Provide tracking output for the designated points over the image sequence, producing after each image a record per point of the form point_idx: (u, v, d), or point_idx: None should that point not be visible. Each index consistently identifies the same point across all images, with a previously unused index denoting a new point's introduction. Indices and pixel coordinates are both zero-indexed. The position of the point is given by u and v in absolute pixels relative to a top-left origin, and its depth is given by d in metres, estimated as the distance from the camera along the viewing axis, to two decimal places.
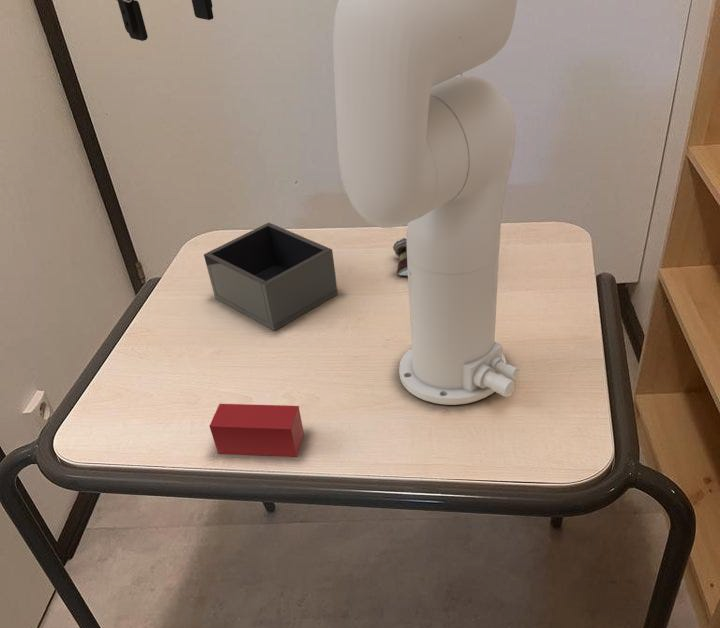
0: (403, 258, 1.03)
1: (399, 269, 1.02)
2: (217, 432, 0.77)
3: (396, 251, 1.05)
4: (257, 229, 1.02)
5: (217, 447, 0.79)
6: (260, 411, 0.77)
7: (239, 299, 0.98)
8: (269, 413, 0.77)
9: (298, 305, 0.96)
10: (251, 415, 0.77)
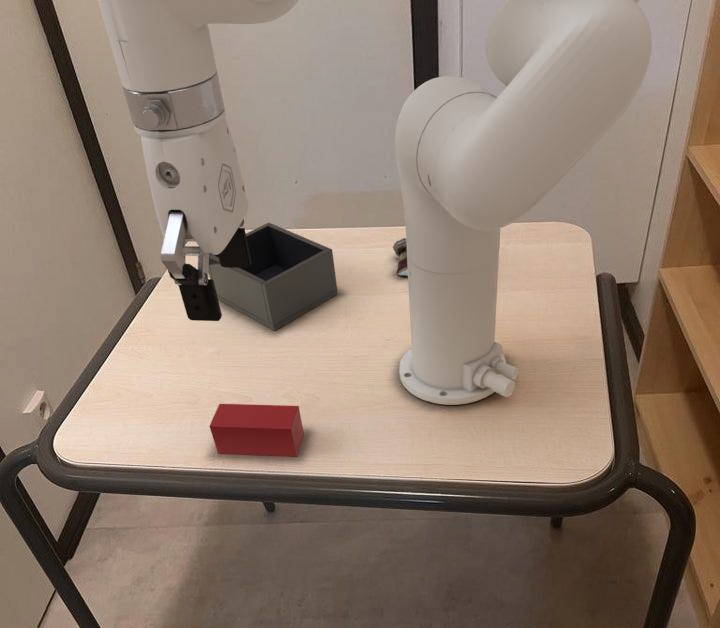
0: (403, 258, 1.03)
1: (399, 269, 1.02)
2: (217, 432, 0.77)
3: (396, 251, 1.05)
4: (257, 229, 1.02)
5: (217, 447, 0.79)
6: (260, 411, 0.77)
7: (239, 299, 0.98)
8: (269, 413, 0.77)
9: (298, 305, 0.96)
10: (251, 415, 0.77)
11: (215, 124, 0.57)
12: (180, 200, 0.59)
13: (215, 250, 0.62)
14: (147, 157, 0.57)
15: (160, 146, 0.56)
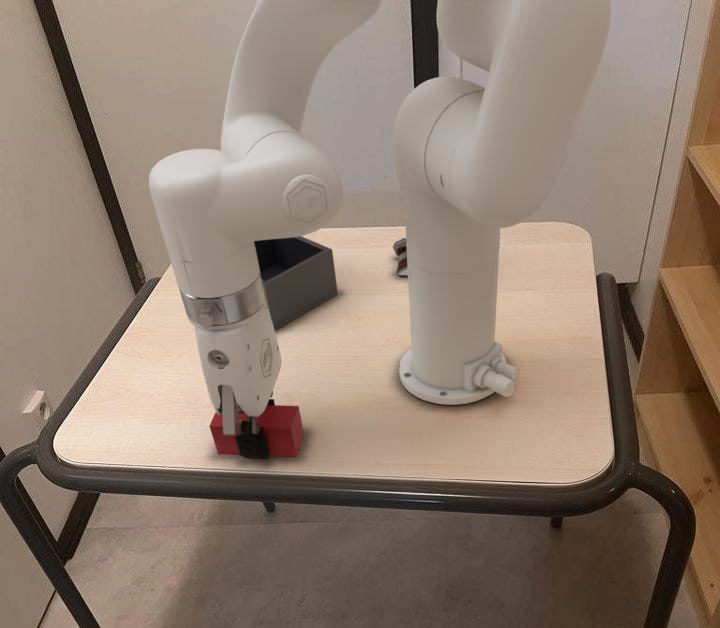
0: (403, 258, 1.03)
1: (399, 269, 1.02)
2: (217, 432, 0.77)
3: (396, 251, 1.05)
4: None
5: (217, 447, 0.79)
6: None
7: None
8: (269, 413, 0.77)
9: (298, 305, 0.96)
10: None
11: (259, 314, 0.66)
12: (229, 378, 0.67)
13: (258, 414, 0.70)
14: (200, 345, 0.66)
15: (212, 338, 0.65)
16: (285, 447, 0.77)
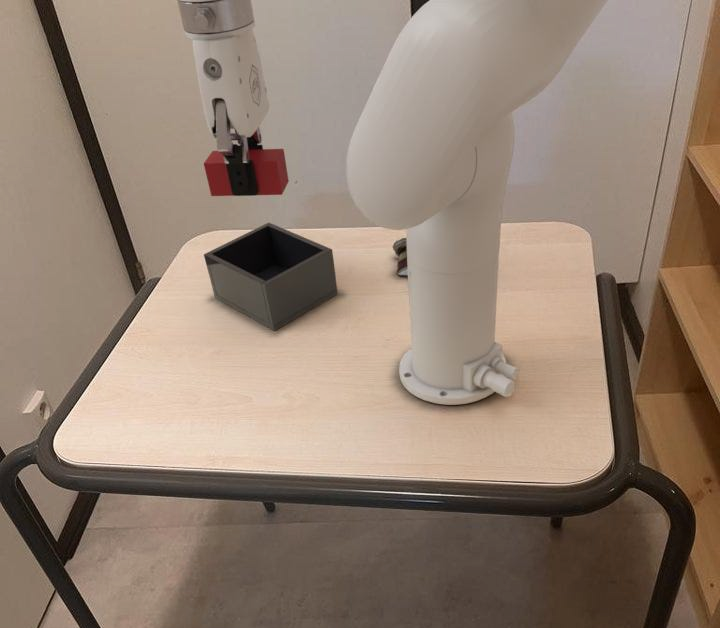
0: (403, 258, 1.03)
1: (399, 269, 1.02)
2: (210, 170, 0.86)
3: (396, 251, 1.05)
4: (257, 229, 1.02)
5: (210, 188, 0.88)
6: (249, 153, 0.86)
7: (239, 299, 0.98)
8: (257, 154, 0.86)
9: (298, 305, 0.96)
10: None
11: (248, 29, 0.75)
12: (222, 90, 0.76)
13: (247, 133, 0.79)
14: (197, 55, 0.75)
15: (207, 45, 0.74)
16: (271, 184, 0.86)
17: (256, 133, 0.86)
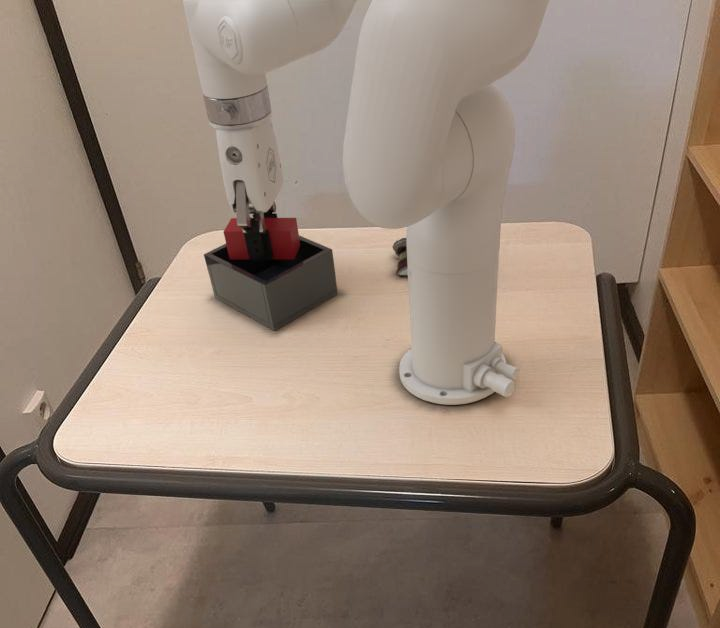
0: (403, 258, 1.03)
1: (399, 269, 1.02)
2: (229, 237, 0.94)
3: (396, 251, 1.05)
4: None
5: (229, 253, 0.96)
6: None
7: (239, 299, 0.98)
8: (272, 222, 0.94)
9: (298, 305, 0.96)
10: None
11: (266, 120, 0.84)
12: (242, 173, 0.85)
13: (264, 209, 0.88)
14: (220, 143, 0.83)
15: (229, 135, 0.82)
16: (285, 250, 0.94)
17: (271, 204, 0.95)
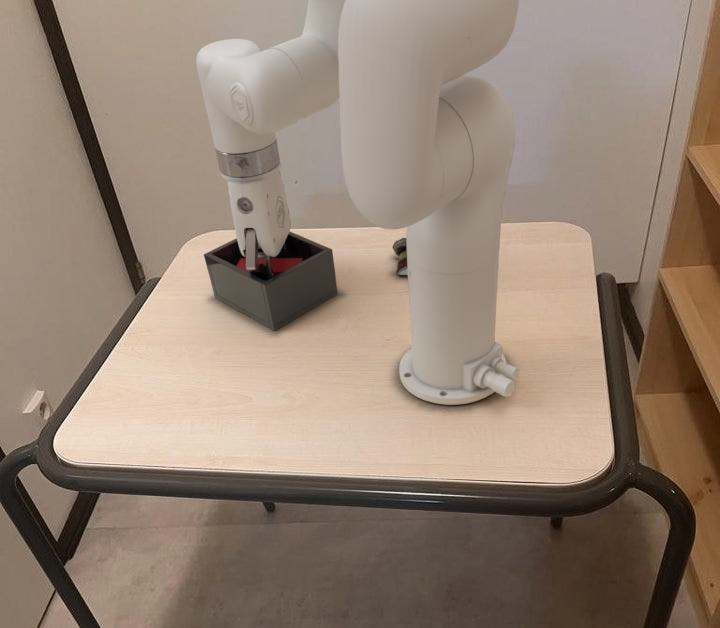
0: (403, 257, 1.03)
1: (399, 269, 1.02)
2: None
3: (395, 251, 1.05)
4: None
5: None
6: (272, 262, 0.99)
7: (239, 299, 0.98)
8: (279, 263, 0.99)
9: (298, 305, 0.96)
10: (265, 264, 0.99)
11: (275, 171, 0.88)
12: (252, 221, 0.89)
13: (274, 254, 0.92)
14: (231, 194, 0.87)
15: (241, 187, 0.86)
16: None
17: None
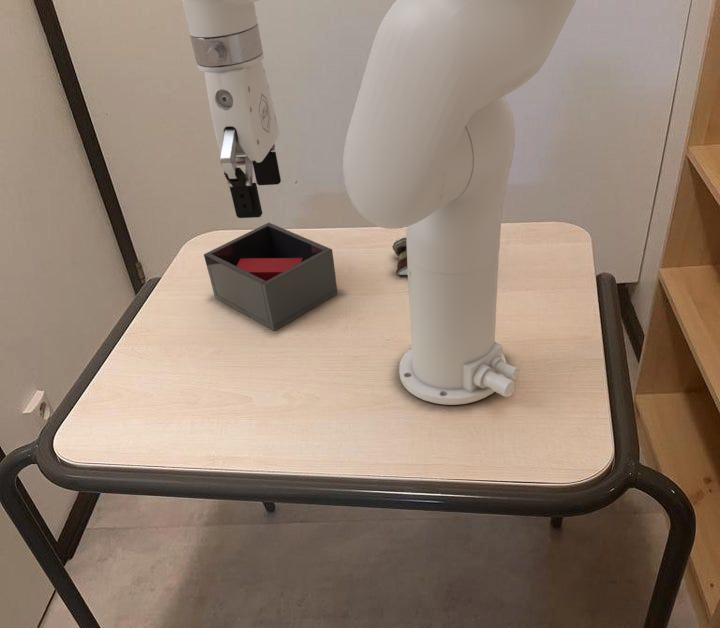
0: (402, 257, 1.03)
1: (399, 269, 1.03)
2: None
3: (395, 251, 1.05)
4: (257, 229, 1.02)
5: None
6: (272, 262, 0.99)
7: (239, 299, 0.98)
8: (279, 263, 0.99)
9: (298, 305, 0.96)
10: (265, 264, 0.99)
11: (257, 61, 0.79)
12: (233, 118, 0.80)
13: (258, 158, 0.83)
14: (209, 87, 0.79)
15: (219, 77, 0.78)
16: None
17: None
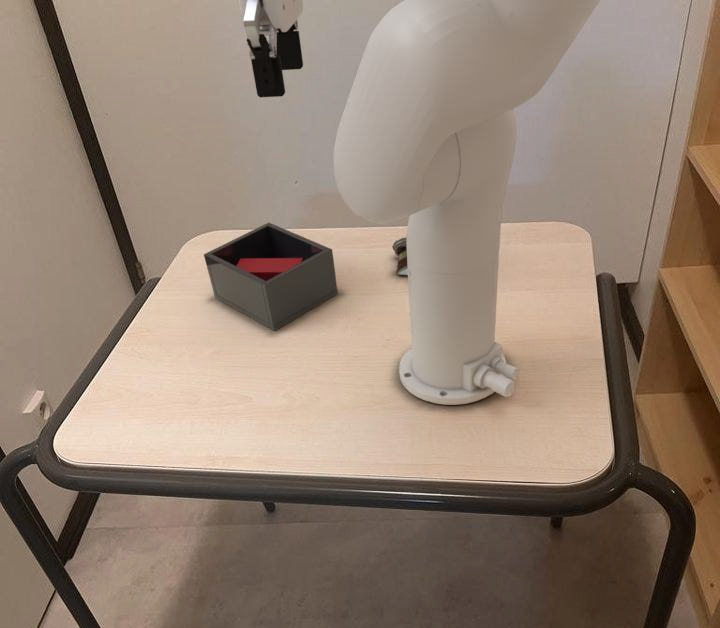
0: (402, 257, 1.03)
1: (398, 268, 1.03)
2: None
3: (395, 250, 1.05)
4: (257, 229, 1.02)
5: None
6: (272, 262, 0.99)
7: (239, 299, 0.98)
8: (279, 263, 0.99)
9: (298, 305, 0.96)
10: (265, 264, 0.99)
11: None
12: None
13: (283, 26, 0.77)
14: None
15: None
16: None
17: None
